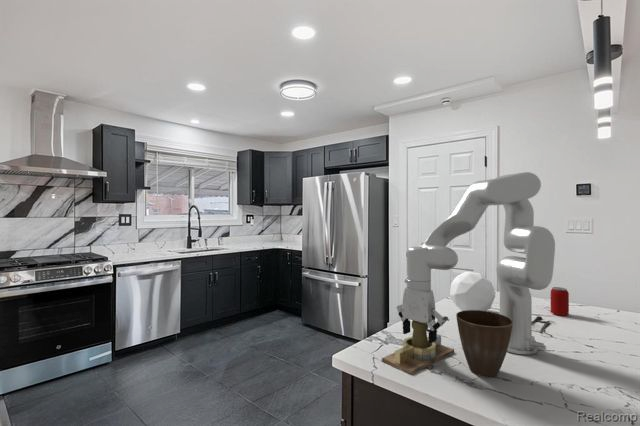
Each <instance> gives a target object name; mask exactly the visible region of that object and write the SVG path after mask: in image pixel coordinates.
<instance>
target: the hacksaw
mask: <svg viewBox="0 0 640 426" xmlns="http://www.w3.org/2000/svg"><path fill="white" fill-rule="evenodd" d="M535 323H541V324H543V323H544V324H543V325H542V327H541V328H540V330H539V331H538V330H533V329H532V332H536V333H540V335H543V333H544V334H546V335H547V336H549V337H550V338H553V334H550V333H547V332H546V330H545V329H546V328H547V327H548V326H549V325H550V324H551V323H555V321H553V320H547V321H546V320H543V317H542V316H540V315H538V316H536V317H535V318H534V319H533V320H532V326H533V325H534V324H535ZM547 336H545V335H543V337H545V338H547Z"/></svg>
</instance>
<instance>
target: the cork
mask: <svg viewBox="0 0 640 426" xmlns="http://www.w3.org/2000/svg"><path fill="white" fill-rule="evenodd" d="M411 328H412V336H411V337H412V344H411V346H413V347H418V348H428V340H427V337H428V335H427V333H428V331H426V330H427V329H429V326H428V325H427V323H426V324H424V323H420V322H417V321H413V320H411Z"/></svg>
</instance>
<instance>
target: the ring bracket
mask: <svg viewBox="0 0 640 426" xmlns="http://www.w3.org/2000/svg"><path fill="white" fill-rule="evenodd" d="M427 340H428V348H418V347H413V346H411V344H412V336H411V337H410V336H409V337H405V338H404V339H403V341H402V348H399V349H396V350H394V353H395V363H397V364H399V365H401V364H403V363H405V362H407V361H409V360H411V359H415V360H421V361H422V360H423V361H425V360H432V359H434V358H435V355H436V348H437V347H439V346H441V345H442V335H441V334H438V333H437V339H436V341H435V342H433V343H429V336H427Z"/></svg>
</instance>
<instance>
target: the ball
mask: <svg viewBox="0 0 640 426" xmlns="http://www.w3.org/2000/svg"><path fill="white" fill-rule="evenodd" d="M449 297H450V299H451V300H452V302H453V303H454V305H455V306H456V307H457V308H458V309H459V310H460V311H465V310H480V311H489V310H491V308H492V305H493V302H494V301H495V298H496V291H495V288H494V285H493V283H492V281H490V280H489V279H488V278H486V276H484V275H483V274H482V273H481V272H473V271H464V272H462V273H460V274H458V275H457V276H455V277H454V279H453V280H452V282H451V283H450V288H449Z"/></svg>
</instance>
